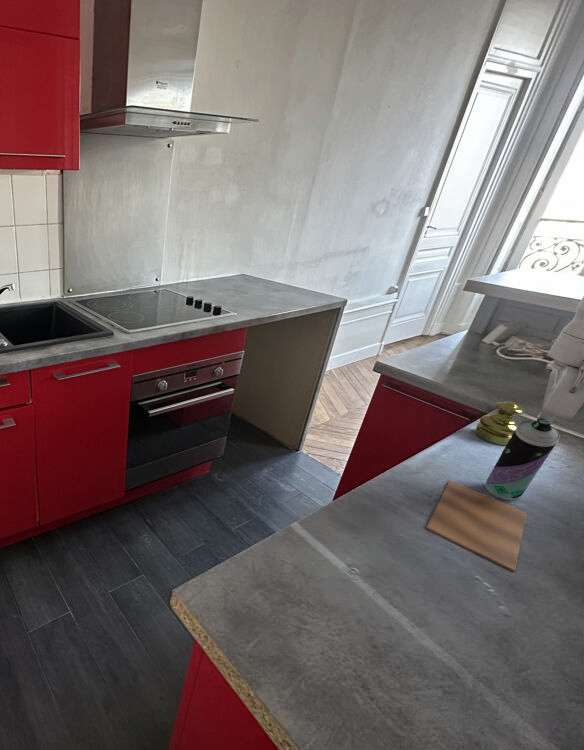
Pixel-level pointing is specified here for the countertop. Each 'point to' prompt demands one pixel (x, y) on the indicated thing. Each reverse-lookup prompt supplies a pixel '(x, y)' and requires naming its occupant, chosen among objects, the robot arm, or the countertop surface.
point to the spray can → (522, 458)
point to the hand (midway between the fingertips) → (542, 421)
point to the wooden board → (479, 524)
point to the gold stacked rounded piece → (499, 424)
